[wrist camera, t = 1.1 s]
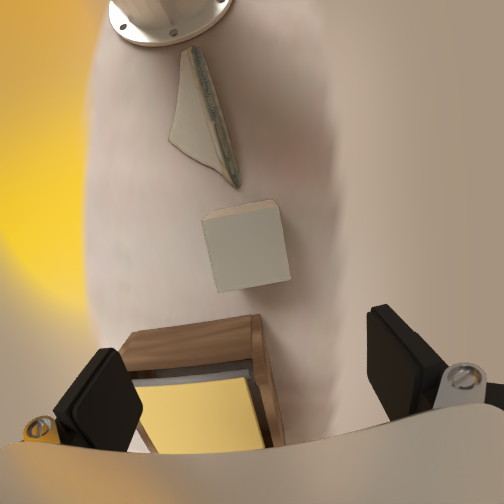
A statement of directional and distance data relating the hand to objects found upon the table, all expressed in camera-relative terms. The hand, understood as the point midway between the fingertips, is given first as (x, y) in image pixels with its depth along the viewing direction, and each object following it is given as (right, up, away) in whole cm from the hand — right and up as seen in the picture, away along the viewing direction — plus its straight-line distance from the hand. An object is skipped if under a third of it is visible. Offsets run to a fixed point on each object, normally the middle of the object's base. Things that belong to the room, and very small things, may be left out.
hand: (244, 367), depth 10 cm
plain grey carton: (0, +6, +16) cm, 17 cm away
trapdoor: (-4, -12, +13) cm, 19 cm away
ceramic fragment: (-4, +16, +15) cm, 22 cm away
